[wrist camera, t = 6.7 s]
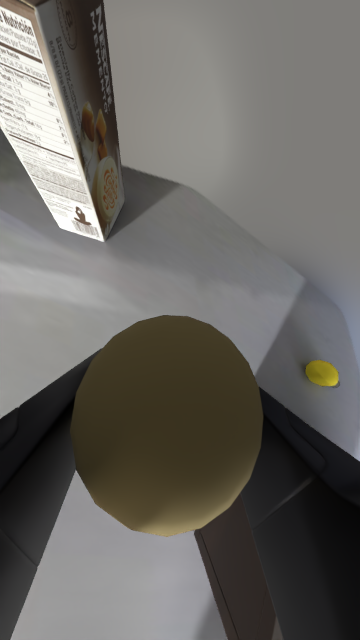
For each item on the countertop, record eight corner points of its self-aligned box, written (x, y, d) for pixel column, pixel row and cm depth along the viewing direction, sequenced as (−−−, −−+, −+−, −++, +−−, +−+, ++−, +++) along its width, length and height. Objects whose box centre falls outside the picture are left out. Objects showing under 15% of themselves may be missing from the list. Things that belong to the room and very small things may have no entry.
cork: (125, 340, 14) (80, 257, 4) (190, 351, 15) (293, 309, 5) (105, 418, 12) (-105, 691, 2) (182, 425, 13) (331, 622, 3)
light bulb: (297, 359, 24) (326, 353, 21) (317, 375, 26) (346, 371, 23) (302, 381, 22) (335, 377, 19) (324, 396, 24) (356, 395, 21)
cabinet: (326, 460, 21) (454, 523, 12) (307, 599, 16) (492, 857, 8) (239, 406, 20) (309, 432, 12) (193, 533, 16) (255, 729, 7)
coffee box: (84, 186, 25) (-3, -93, 10) (126, 201, 26) (103, -33, 11) (58, 229, 22) (-128, -82, 7) (106, 244, 23) (36, 1, 8)
